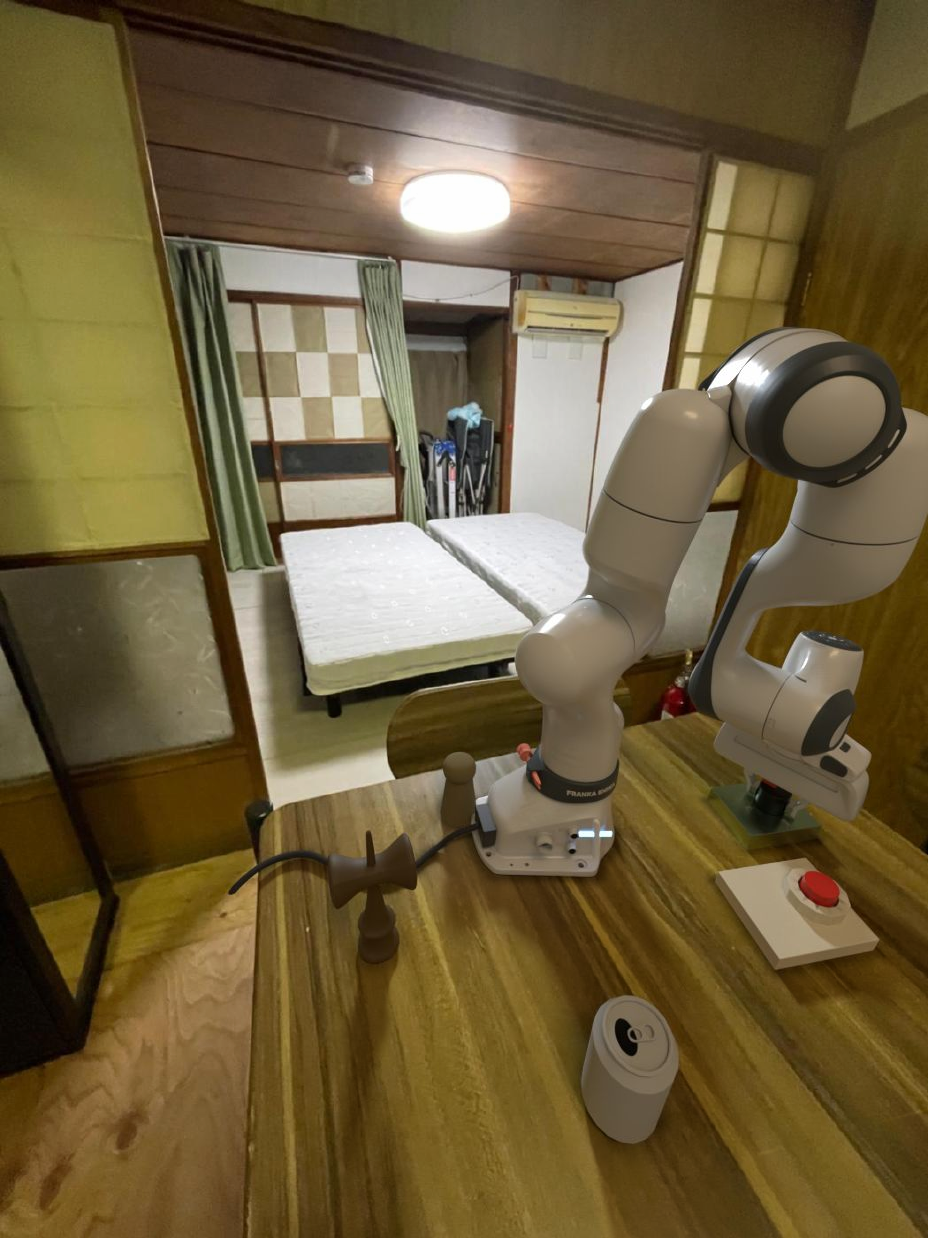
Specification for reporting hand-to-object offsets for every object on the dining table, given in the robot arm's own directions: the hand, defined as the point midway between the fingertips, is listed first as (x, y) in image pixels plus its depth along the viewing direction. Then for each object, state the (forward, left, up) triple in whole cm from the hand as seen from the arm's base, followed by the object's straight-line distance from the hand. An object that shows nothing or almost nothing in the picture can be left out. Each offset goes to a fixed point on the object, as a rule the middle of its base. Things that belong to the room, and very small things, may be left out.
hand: (771, 802), depth 81 cm
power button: (-5, -15, 0) cm, 16 cm away
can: (-39, -29, -4) cm, 49 cm away
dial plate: (-1, 0, -4) cm, 4 cm away
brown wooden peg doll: (-49, +10, -4) cm, 50 cm away
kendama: (-62, -10, -4) cm, 63 cm away
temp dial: (0, 0, -1) cm, 1 cm away
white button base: (-8, -15, -4) cm, 17 cm away
